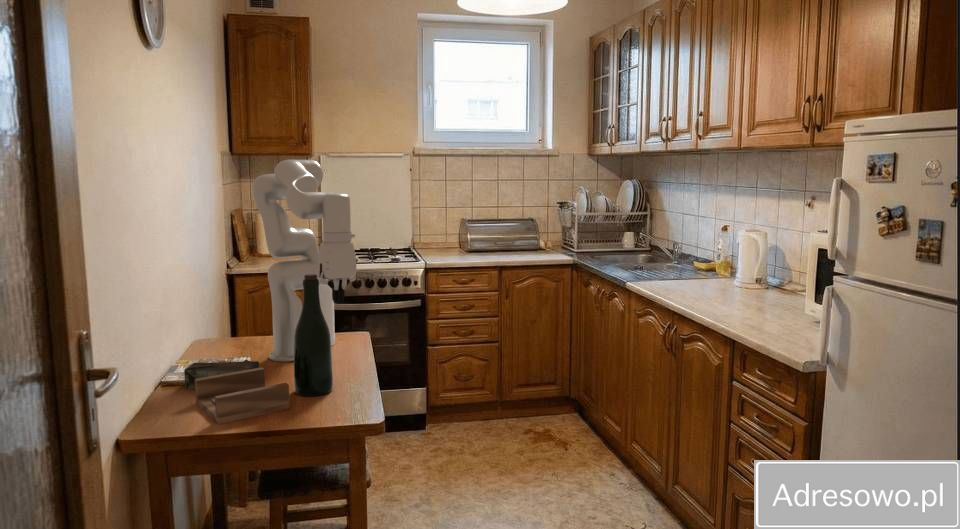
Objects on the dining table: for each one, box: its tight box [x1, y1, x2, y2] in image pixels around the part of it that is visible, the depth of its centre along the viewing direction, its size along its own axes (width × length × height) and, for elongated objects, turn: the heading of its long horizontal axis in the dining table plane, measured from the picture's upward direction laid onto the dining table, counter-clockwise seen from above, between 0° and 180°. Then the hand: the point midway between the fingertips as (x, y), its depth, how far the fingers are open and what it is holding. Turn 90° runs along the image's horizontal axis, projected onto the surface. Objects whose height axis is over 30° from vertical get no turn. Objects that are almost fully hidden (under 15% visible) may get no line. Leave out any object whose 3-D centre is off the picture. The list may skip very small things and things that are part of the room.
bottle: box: [319, 279, 336, 347], centre depth 239 cm, size 8×8×30 cm
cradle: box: [194, 367, 290, 425], centre depth 179 cm, size 19×18×6 cm
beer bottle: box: [293, 274, 334, 397], centre depth 189 cm, size 10×10×33 cm
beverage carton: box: [183, 360, 260, 390], centre depth 196 cm, size 8×19×7 cm, turn 94°
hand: (338, 303), depth 193 cm, fingers closed
